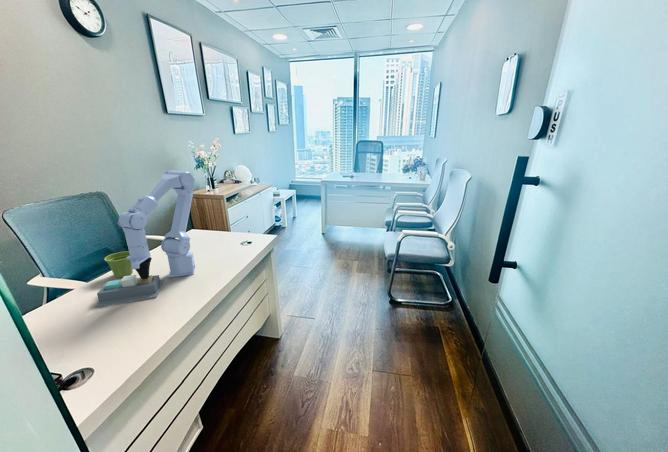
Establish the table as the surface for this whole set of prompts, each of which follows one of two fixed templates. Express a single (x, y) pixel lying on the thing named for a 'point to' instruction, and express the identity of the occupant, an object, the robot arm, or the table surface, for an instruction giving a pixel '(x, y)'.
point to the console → (129, 293)
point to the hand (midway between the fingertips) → (145, 277)
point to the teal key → (113, 284)
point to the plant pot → (119, 264)
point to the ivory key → (129, 281)
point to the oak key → (145, 280)
